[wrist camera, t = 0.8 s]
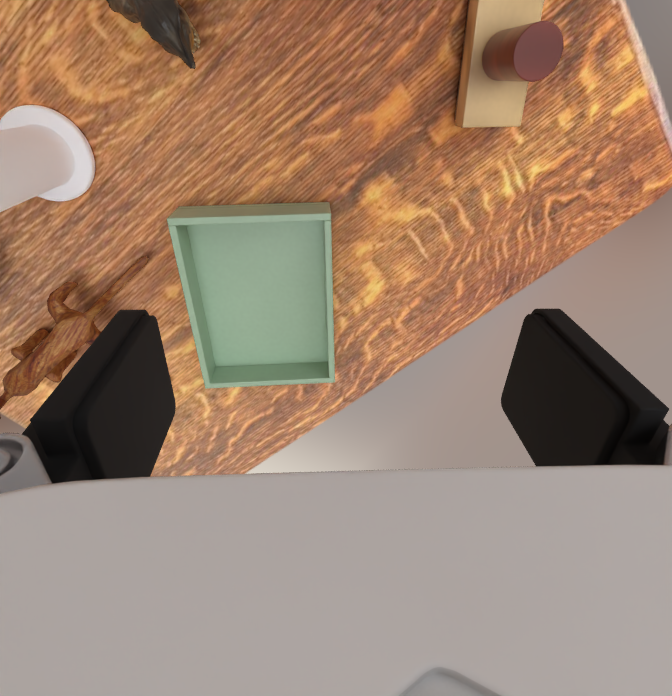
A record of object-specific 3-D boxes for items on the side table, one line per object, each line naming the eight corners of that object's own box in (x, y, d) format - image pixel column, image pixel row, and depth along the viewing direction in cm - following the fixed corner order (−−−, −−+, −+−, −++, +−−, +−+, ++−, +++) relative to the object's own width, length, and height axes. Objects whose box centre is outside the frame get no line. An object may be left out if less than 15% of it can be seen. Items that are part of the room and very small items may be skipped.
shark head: (246, 40, 31) (232, 33, 26) (182, 98, 33) (157, 102, 27) (164, -85, 28) (127, -127, 22) (97, -14, 29) (46, -35, 24)
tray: (178, 206, 37) (166, 218, 34) (329, 201, 38) (331, 213, 35) (212, 367, 47) (205, 388, 43) (333, 361, 47) (334, 382, 44)
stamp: (466, -19, 30) (517, -49, 23) (528, -20, 31) (598, -50, 23) (450, 124, 35) (488, 136, 28) (504, 122, 35) (555, 135, 28)
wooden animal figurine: (121, 225, 38) (39, 289, 26) (179, 277, 41) (129, 356, 29) (10, 338, 43) (-98, 433, 32) (69, 378, 46) (-11, 477, 35)
